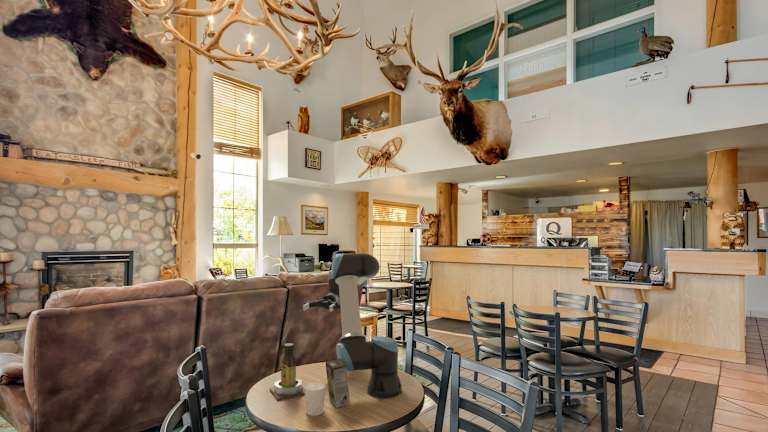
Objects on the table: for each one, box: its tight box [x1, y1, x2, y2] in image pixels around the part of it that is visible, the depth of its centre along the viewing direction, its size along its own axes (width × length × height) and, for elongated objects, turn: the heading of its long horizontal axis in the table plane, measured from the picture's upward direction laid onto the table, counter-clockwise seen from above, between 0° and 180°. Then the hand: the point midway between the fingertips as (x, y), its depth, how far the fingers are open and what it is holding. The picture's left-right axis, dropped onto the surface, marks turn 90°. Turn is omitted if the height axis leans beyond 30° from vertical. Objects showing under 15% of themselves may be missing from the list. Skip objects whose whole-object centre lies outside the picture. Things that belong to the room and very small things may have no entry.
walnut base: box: [269, 386, 305, 402], centre depth 179 cm, size 13×13×1 cm
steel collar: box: [273, 378, 303, 395], centre depth 179 cm, size 12×12×3 cm
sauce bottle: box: [280, 342, 297, 387], centre depth 180 cm, size 6×6×20 cm
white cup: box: [304, 382, 326, 417], centre depth 160 cm, size 8×8×10 cm
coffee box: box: [325, 358, 351, 409], centre depth 169 cm, size 9×6×16 cm
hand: (317, 308), depth 203 cm, fingers open, 13 cm apart
